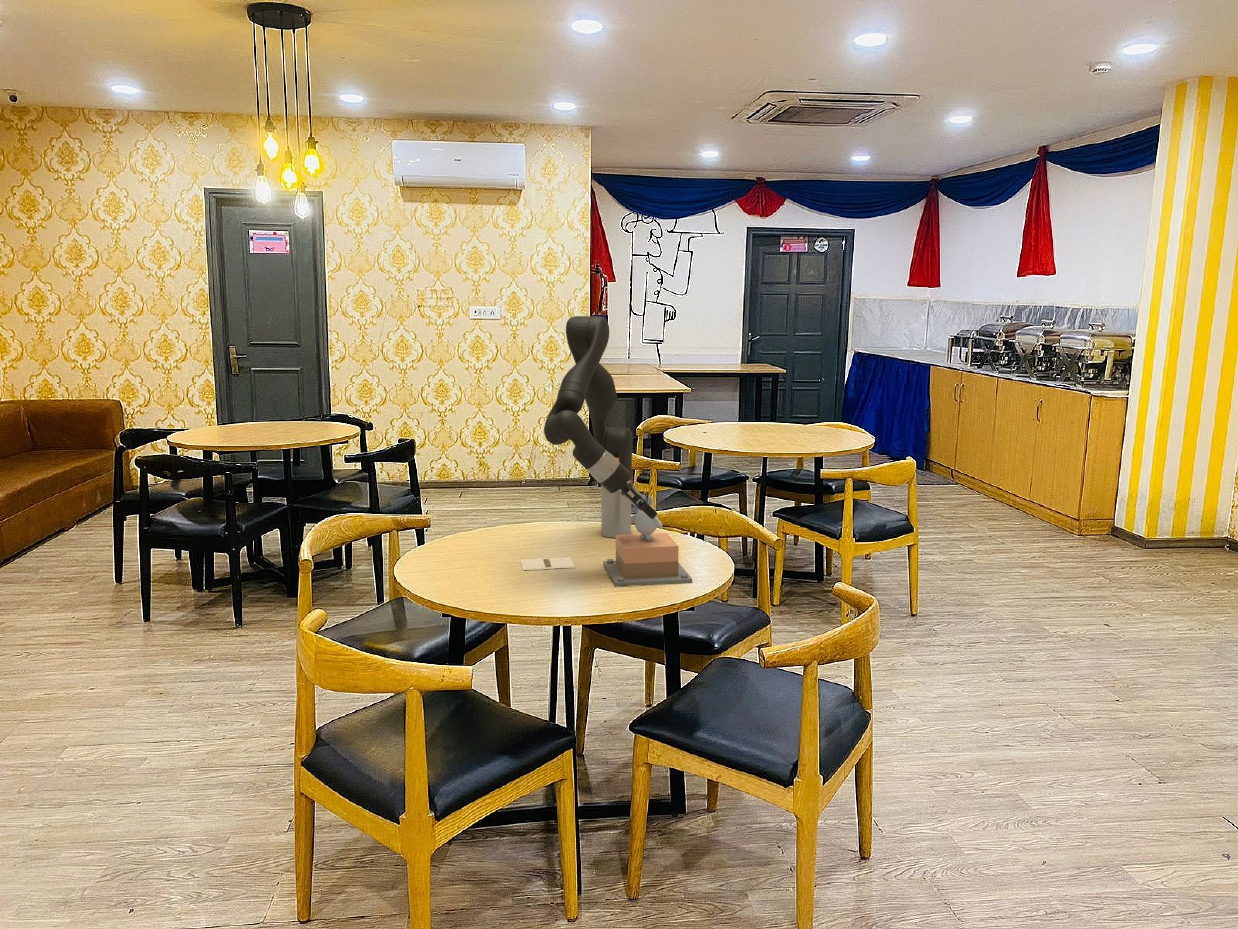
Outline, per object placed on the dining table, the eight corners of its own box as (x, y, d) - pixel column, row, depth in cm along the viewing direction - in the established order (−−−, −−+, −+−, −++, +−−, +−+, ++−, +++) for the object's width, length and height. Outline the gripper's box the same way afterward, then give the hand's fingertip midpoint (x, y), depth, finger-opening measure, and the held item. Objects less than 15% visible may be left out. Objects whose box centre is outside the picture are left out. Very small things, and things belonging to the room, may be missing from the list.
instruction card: (520, 560, 255) (520, 559, 255) (570, 558, 258) (570, 556, 258) (522, 570, 246) (522, 569, 246) (574, 568, 248) (574, 566, 248)
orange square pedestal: (603, 564, 251) (603, 532, 250) (674, 561, 254) (674, 529, 253) (615, 586, 232) (615, 552, 230) (692, 582, 235) (692, 548, 233)
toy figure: (669, 541, 241) (670, 496, 238) (654, 546, 236) (655, 501, 234) (637, 533, 248) (638, 490, 245) (623, 538, 243) (623, 494, 240)
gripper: (623, 465, 230) (667, 508, 234) (613, 456, 243) (655, 497, 247) (602, 487, 230) (647, 529, 234) (594, 476, 244) (636, 517, 247)
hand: (651, 512), depth 240 cm, fingers open, 8 cm apart
